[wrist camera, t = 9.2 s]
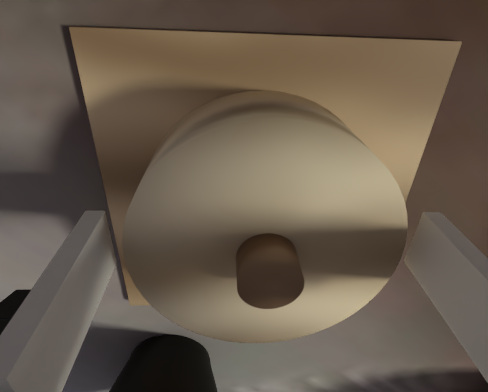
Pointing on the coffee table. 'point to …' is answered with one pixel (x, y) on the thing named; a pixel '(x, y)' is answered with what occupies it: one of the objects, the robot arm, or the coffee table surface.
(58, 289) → the robot arm
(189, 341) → the mug
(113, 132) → the mat
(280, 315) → the lid
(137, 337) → the coffee table surface
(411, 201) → the coffee table surface
